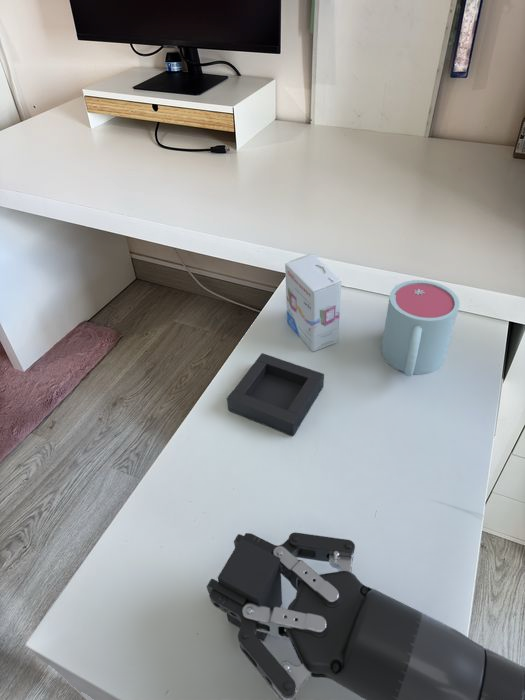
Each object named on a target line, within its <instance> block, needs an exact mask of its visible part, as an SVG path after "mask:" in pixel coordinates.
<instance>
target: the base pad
mask: <svg viewBox="0 0 525 700" xmlns="http://www.w3.org/2000/svg"><path fill="white" fill-rule="evenodd" d="M324 379H325V374H324V373H322V372H319V371H317V370H313V369H310V368H307V367H305V366H301V365H299V364H296V363H292V362H290V361H287V360H284V359H281V358H278V357H275V356H272V355H269V354H266V353H263V352H262V353H260V354H259V356H258V357H257V359H256V360H255V361H254V363H253V364H252V365H251V366H250V368H249V369H248V370H247V371H246V373H245V374H244V375H243V376H242V378H241V379H240V380H239V382H238V383H237V384H236V386H235V387H234V388H233V390H232V391H231V392H230V393H229V395H228V396H227V397H226V403H227V408H228V412H231V413H233V414H236V415H238V416H240V417H243V418H245V419H249V420H251V421H254V422H255V423H258V424H261V425H262V426H265V427H268V428H271V429H273V430H275V431H278V432H280V433H283V434H286V435H288V436H291V437H294V436H295V435H296V433H297V431H298V430H299V428H300V427H301V425H302V423H303V421H304V420H305V418H306V417H307V414H308V413H309V411H310V410H311V408H312V406H313V405H314V403H315V402H316V400H317V398H318V396H319V395H320V393H321V391H322V390H323V388H324V385H325V384H324V382H325V380H324Z"/></svg>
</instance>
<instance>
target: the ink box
mask: <svg viewBox="0 0 525 700" xmlns="http://www.w3.org/2000/svg"><path fill="white" fill-rule="evenodd" d="M284 269H285V272H284V273H285V275H284V276H285V297H286V299H285V300H286V301H285V302H286V322H287V324H288V325H289V326H290V327H291V328H292V330H293V331H294V332H295V333H296V334H297V336H299V337H300V338H301V340H302V341H303V342H304V343H305V344H306V346H307V347H308V348H309V349H310V350H311V351H312V352H316V351H319V350H321V349H325V348H327V347H329V346H331V345H334V344H337V343H338V342H339V336H340V335H339V333H340V314H341V313H340V312H341V295H342V280H341V278H340V277H339V276H338V275H337V274H335V272H333V271H332V270H331V268H329V267H328V266H327V265H326V264H325V263H324V262H323V261H321V259H319V258H318V256H317V255H316V254H311V253H308V254H306V255H303V256H300V257H298V258H294V259H292V260H290V261H286V262H285V263H284Z"/></svg>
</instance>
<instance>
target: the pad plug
mask: <svg viewBox="0 0 525 700" xmlns="http://www.w3.org/2000/svg"><path fill="white" fill-rule="evenodd" d="M217 581H218V582H219V583H221V584H222V585H224V586H226V587H228V588H230V589H231V590H233V591H235V592H237V593H239V594H240V595H242V596H244V597H246V598H247V601H248V603H252V604H256V605H261V606H265V607H270V608H272V607H279V608H282V607H281V606H282V605H283V593H282V592H283V591H282V589H283V587H282V574H281V566H280V558H279V557H277V556H275V555H273V554H271V553H269V552H267V551H265V550H263V549H261V548H259V547H257V546H255V545H253V544H251V543H249V542H247V541H245V540H243V539H240V541H239V542H238V544H237V546H236V547H235V546H234V549H233V551H232V552H231V554H230V556H229V558H228V560H227V561H226V563H225V564H224V566H223V568H222V570H221V571H220V573H219V575H218V576H217ZM225 614H226V618H227V621H228V622H229V623H230V624H232V625H234V626H236V627H237V628H239V629H240V627H241V622H240V621H239V620H238V619H236V618H234V617H232V616H231V615H229V614H227V613H225ZM268 635H269V634H268V633H265V632H260V631H256V636H257V638H258V639H259V640H260V641H261V642H265V640H266V638H267V636H268Z"/></svg>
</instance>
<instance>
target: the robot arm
mask: <svg viewBox="0 0 525 700" xmlns="http://www.w3.org/2000/svg"><path fill="white" fill-rule="evenodd" d="M240 539H243V540H245V541H247V542H249V543H251V544H253V545H255V546H257V547H259V548H261V549H263V550H265V551H267V552H269V553H271V554H273V555H275V556H277V557H279V558H280V566H281V576H283V577H284V578H285V580H287V581H288V582H289V583H290V585H291V586H292V587H293V588H294V589H295V590H296V593H295V598H294V599H293V600H292V601H291V602H290V603H289V605H288V606H287V608H284V607H280V608H279V607H272V608H270V607H265V606H261V605H256V604H252V603H248V601H247V598H246V597H244V596H242V595H240V594H239V593H237V592H235V591H233V590H231V589H230V588H228V587H226V586H224V585H222V584H221V583H219V581H218V580H216V579H214V578H210V580H209V582H208V583H207V585H206V589H207V590H206V591H207V593H208V596H209V599H210V603H212V605H213V606H214V607H215V608H216V609H218V610H220V611H222V612H223V613H225V614H226V613H227V614H229V615H231V616H232V617H234V618H236V619H238V620H239V621H240V622H241V627H240V628H239V631H238V633H237V639H238V642H239V648H240V651H241V652H242V653H243V655H244V656H245V657H246V658H247V659H248V661H249V662H250V663H251V665H252V666H253V667H254V668H255V670H256V671H257V672H258V673H259V674H260V675H261V677H262V678H263V679H264V680H265V682H266V683H267V684H268V685H269V687H270V688H271V689H272V690H273V692H275V694H276V695H277V696H278V698H279V699H280V700H296V697H297V693H298V692H299V691H300V690H301V688H302V687H304V685H305V684H306V683H307V681H308V680H309V679H310V678H311V677H312V678H316V679H317V678H324V679H329V680H331V681H332V682H335V683H336V684H338V685H339V686H340V687H341V686H342V687H343V688H345V689H347V690H348V691H350V692H352V693H353V694H355V695H357V696H359V697H360V698H362V699H364V700H525V666H523V665H521V664H520V663H517V662H515V661H513V660H511V659H509V658H508V657H506V656H503V655H501V654H499V653H497V652H495V651H493V650H491V649H489V648H487V647H484V646H483V645H481V644H479V643H478V642H475V641H474V640H473V639H471V638H470V637H468V636H467V635H465V634H464V633H462V632H460V631H459V630H457V629H456V628H454V627H452V626H450V625H448V624H446V623H444V622H442V621H440V620H438V619H436V618H435V617H434V618H433V617H431V616H430V615H427V614H425V613H424V612H421V611H419V610H418V609H415V608H414V607H412V606H409V605H408V604H405V603H403V602H401V601H399V600H397V599H395V598H393V597H391V596H389V595H387V594H385V593H382V591H380V590H377V589H375V588H372V587H369V586H367V585H364V583H362V582H361V581H360V579H358V578H357V576H356V575H355V574H354V573H353V561H354V556H355V550H356V544H355V543H354V541H352V540H350V539H347V538H346V539H345V538H338V537H332V536H325V535H316V534H310V533H302V532H291V533H290V534H289V536H288V539H286V540H285V541H284V542H283V543H282V544H278V545H277V544H274V543H271V542H269V541H267V540H265V539H264V538H262V537H259V536H257V535H256V534H253V533H249V532H245V534H244V535H243V534H240V533H239V534H237V535H236V536H235V538H234V540H233V544H234V545H233V546H234V548H235V547H236V546H237V544H238V542H239V541H240ZM302 559H305V560H310V561H311V560H312V561H318V562H325V563H328V564H329V566H330V567H332V568H334V569H336V570H338V571H333V572H327V573H321V574H319V573H317V572H316V571H315V570H314V569H312V568H311V566H309V565H308V564H307V563H306V562H304V561H303V560H302ZM227 614H226V615H227ZM256 631H260V632H265V633H268V634H267V635H270V636H272V637H273V638H277V639H281V640H286V641H290V643H291V645H292V648H293V650H294V651H295V654H296V656H297V659H298V660H299V662H300V664H299V665H295V664H293V663H291V662H290V661H289V660H284V661H282V662H281V663H280V662H279V661H278V660H277V659H276V657H275V656H274V655H273V654H272V653H271V651H270V650H269V649H268V648H267V647H266V645H265V644H264V643H263V641H261V640H260V639H258V638H257V636H256Z"/></svg>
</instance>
